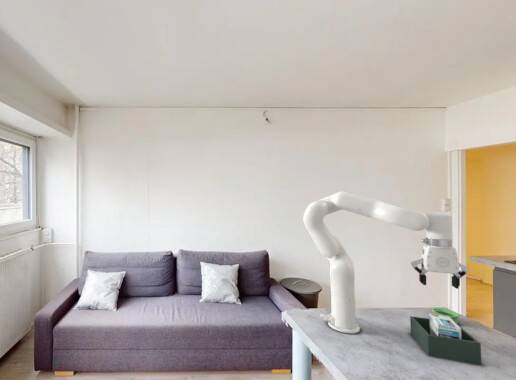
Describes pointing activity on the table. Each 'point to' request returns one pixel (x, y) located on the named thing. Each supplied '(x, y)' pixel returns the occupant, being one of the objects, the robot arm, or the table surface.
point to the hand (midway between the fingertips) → (438, 285)
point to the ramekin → (446, 313)
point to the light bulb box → (444, 326)
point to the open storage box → (445, 343)
